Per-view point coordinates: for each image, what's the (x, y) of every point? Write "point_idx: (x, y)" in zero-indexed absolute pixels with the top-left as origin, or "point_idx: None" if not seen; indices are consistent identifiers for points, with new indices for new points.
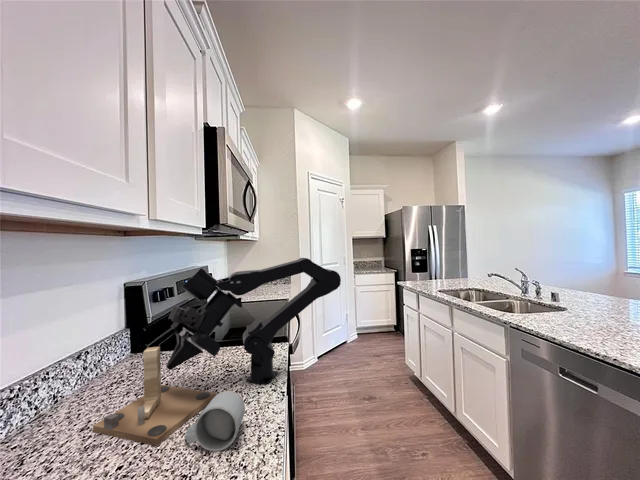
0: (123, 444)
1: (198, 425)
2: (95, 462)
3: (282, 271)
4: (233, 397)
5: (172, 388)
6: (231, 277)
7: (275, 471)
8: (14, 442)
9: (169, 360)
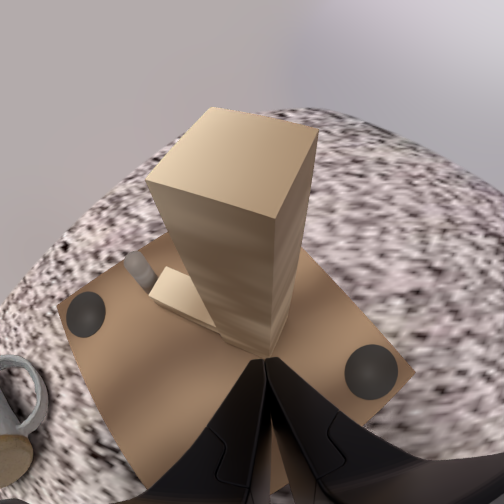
0: (128, 253)
1: None
2: (114, 211)
3: None
4: None
5: (357, 411)
6: None
7: None
8: (301, 113)
9: (288, 376)
